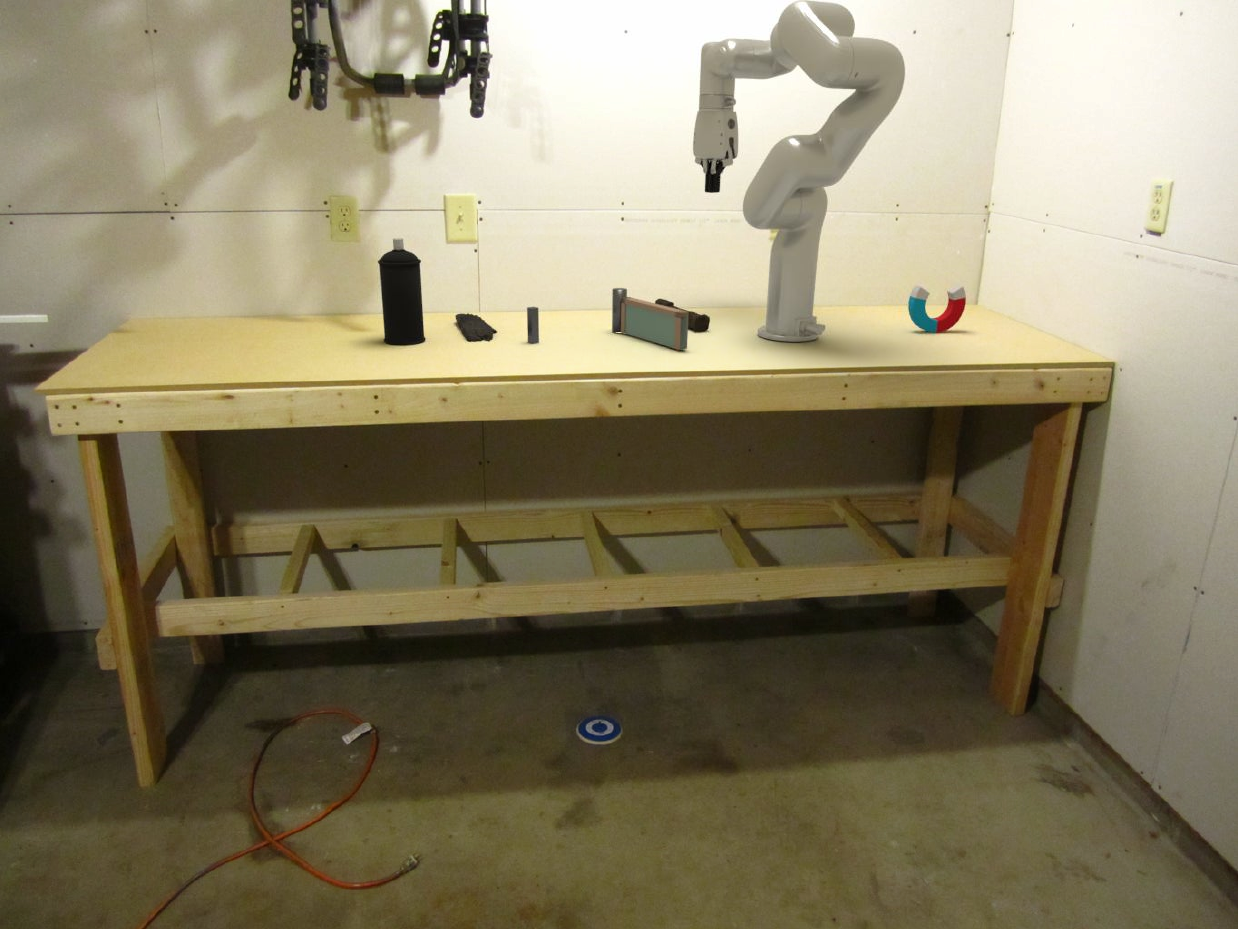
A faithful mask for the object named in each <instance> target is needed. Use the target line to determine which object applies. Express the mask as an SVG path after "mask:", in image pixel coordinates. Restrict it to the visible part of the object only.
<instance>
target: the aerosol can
mask: <svg viewBox="0 0 1238 929" xmlns="http://www.w3.org/2000/svg"><path fill="white" fill-rule="evenodd" d="M392 247H393V249H392V250H390V251H388V252H386V253H384V254H383V255H382V256H381V257H380V259H379V260H378V261H377V263H378V265H379V277H380V290H381V291H380V292H381V304H382V318H383V320H382V322H383V332H384V333H383V334H384V338H383V342H384V343H385V344H387V345H391V346H392V345H394V346H411V345H417V344H422V343H424V342H425V341H426V337H425V330H424V329H425V328H424V325H425V324H424V312H423V297H422V296H423V295H422V294H423V293H422V279H421V278H422V277H421V263H422V260H421V259H419V258H418V256H417V255H416V254H415V253H413V252H412V251H408V250H407V249H405V248H404V238H401V237H400V238H399V237H397V238H396V237H395V238H392Z"/></svg>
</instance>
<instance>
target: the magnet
mask: <svg viewBox="0 0 1238 929" xmlns="http://www.w3.org/2000/svg"><path fill="white" fill-rule="evenodd" d="M946 293H947V297H948V299H947V300H948V302H947V306H946V308H945V310H944V311H943V312H942V313H941V315H939V316H937V317H930V316H929V315H928V314H927V310H926V309H927V308H926V304H927V300H928V299H929V298H928V297H929V295H930V292H929V291H927V289H925V288H923V287H922V286H921V285H919V284H915V285H914V287H913V288H912V289H911V292H910V295H909V298H908V306H907V309H908V314H909V316H910V319H911V321H912V323H913V324H914V325H915V326H916V327H917V328H919V329H921V330H923V331H925V332H927V333H931V334H939V333H940V334H941V333H943V332H946V331H948V330H950V329H952V328H953V327H954V326H955V325H956V324H957V323H958V322H959V321H960V319H961V317H962V316H963V314H964V311H965V307H966V304H967V303H966V302H967V300H966V299H967V298H966V297H967V296H966V290H965V287H964V286H963V285H961V284H956V285H954V286H953V287H951V288H949V289H948V290H947V291H946Z"/></svg>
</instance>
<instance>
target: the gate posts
mask: <svg viewBox="0 0 1238 929" xmlns="http://www.w3.org/2000/svg"><path fill="white" fill-rule="evenodd" d="M611 294H612V295H611V296H612V298H611V299H612V302H611V303H612V306H611V308H612V313H611V322H612V323H611V333H613V332H621V298H625V297H628V289H627V288H624V287H623V288H622V287H616V288H615V287H614V288H612V293H611ZM526 317H527V318H526V319H527V320H526V322H527V329H526V330H527V343H530V344H539V343H540V337H539V336H540V334H539V332H540V329H539V326H540V325H539V322H540V321H539V307H536V306H529V307H526Z"/></svg>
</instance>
